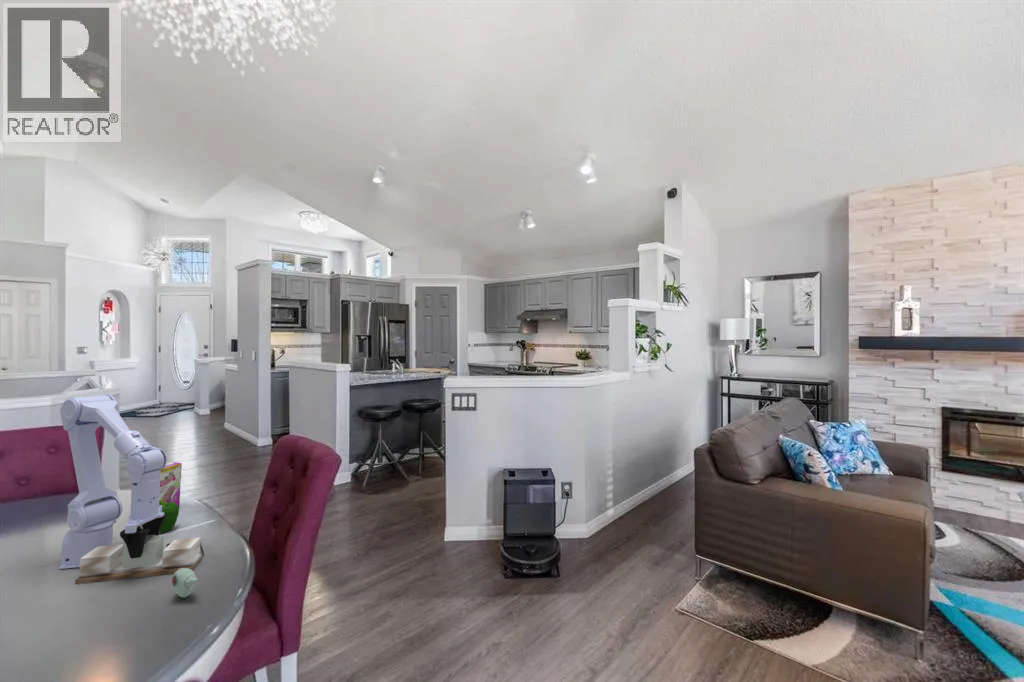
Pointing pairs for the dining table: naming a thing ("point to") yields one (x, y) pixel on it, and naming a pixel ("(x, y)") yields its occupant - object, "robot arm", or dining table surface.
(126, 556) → the block
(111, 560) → the board
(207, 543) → the dining table surface
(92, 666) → the dining table surface
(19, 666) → the dining table surface
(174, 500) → the candy bar box
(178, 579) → the robot head
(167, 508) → the bell pepper
